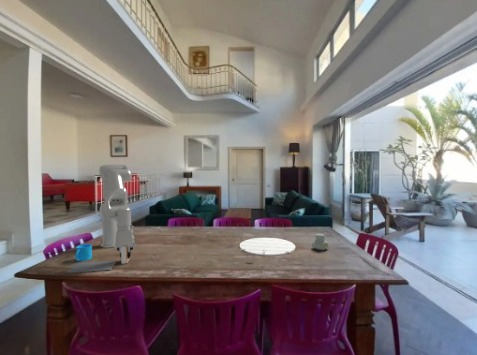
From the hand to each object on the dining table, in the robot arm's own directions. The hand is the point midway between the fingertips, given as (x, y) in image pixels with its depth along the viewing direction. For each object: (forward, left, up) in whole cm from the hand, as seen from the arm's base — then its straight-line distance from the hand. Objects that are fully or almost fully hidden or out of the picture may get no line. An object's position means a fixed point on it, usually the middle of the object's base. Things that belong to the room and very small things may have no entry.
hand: (125, 257), depth 164 cm
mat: (+6, -16, -2) cm, 17 cm away
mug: (-8, -27, -2) cm, 28 cm away
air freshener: (-1, +126, -2) cm, 126 cm away
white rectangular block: (0, 0, -2) cm, 2 cm away
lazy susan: (-13, +92, -3) cm, 93 cm away
